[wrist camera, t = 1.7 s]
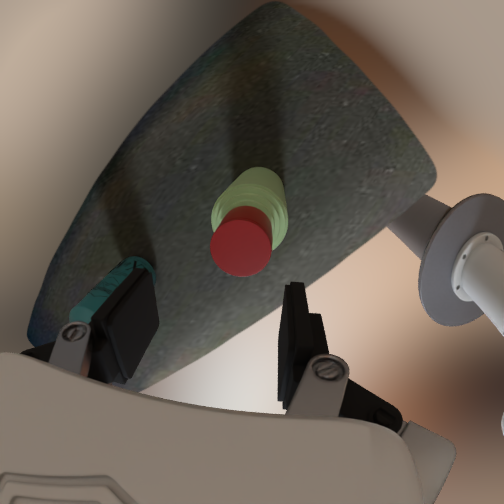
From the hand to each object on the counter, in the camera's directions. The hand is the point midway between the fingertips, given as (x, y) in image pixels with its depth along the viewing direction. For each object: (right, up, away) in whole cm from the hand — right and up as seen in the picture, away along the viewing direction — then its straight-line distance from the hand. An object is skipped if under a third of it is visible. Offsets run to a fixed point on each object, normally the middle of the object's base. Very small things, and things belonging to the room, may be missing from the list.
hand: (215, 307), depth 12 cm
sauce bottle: (+2, +10, +23) cm, 25 cm away
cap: (+1, +4, +9) cm, 10 cm away
